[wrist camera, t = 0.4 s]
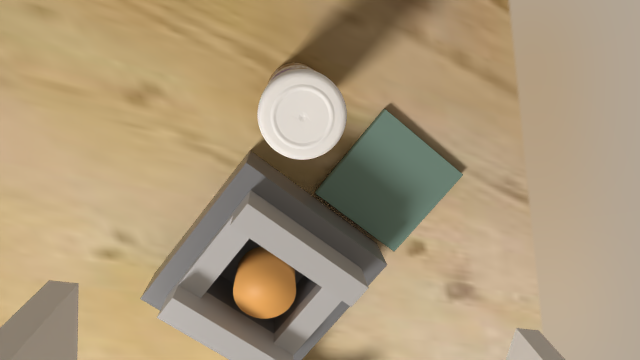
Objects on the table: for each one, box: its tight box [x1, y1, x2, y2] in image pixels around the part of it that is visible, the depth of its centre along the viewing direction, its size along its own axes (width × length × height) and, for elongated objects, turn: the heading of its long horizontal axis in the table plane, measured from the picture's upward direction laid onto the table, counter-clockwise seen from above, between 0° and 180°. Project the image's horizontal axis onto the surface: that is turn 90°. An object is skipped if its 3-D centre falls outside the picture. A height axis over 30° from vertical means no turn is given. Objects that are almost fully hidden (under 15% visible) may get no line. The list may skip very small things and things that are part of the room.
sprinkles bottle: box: [258, 63, 347, 160], centre depth 28 cm, size 5×5×13 cm
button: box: [233, 247, 296, 319], centre depth 34 cm, size 5×5×3 cm
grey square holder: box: [140, 151, 387, 360], centre depth 35 cm, size 14×14×7 cm
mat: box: [315, 109, 463, 251], centre depth 37 cm, size 9×9×1 cm
